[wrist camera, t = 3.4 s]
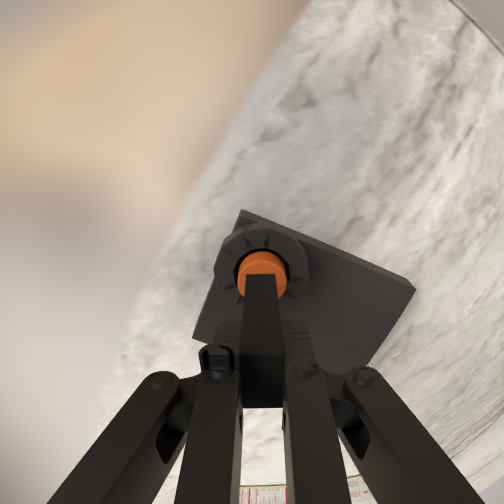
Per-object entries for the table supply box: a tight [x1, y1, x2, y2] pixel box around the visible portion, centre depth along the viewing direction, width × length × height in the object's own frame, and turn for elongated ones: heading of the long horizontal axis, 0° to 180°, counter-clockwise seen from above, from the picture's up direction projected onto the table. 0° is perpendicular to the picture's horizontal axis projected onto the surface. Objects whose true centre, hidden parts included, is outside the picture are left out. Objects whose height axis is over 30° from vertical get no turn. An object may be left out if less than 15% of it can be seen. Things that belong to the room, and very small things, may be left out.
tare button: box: [237, 252, 287, 299], centre depth 18 cm, size 3×3×2 cm
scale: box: [192, 210, 416, 375], centre depth 22 cm, size 14×10×4 cm
